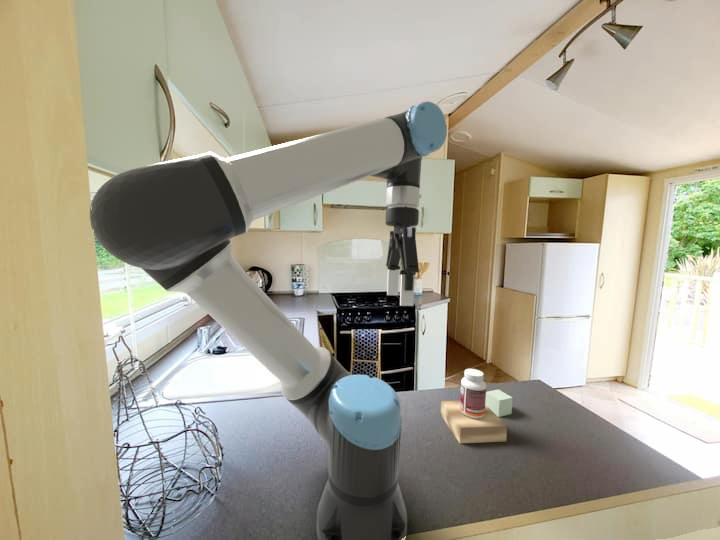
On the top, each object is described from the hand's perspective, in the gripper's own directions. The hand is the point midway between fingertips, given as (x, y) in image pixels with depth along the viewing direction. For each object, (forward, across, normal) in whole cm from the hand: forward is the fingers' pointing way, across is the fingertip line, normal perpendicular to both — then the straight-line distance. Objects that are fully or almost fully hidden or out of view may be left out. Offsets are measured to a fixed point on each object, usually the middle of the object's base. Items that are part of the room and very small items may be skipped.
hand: (398, 300), depth 66 cm
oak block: (+35, +4, -22) cm, 41 cm away
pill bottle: (+31, +4, -22) cm, 38 cm away
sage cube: (+35, +11, -34) cm, 50 cm away
